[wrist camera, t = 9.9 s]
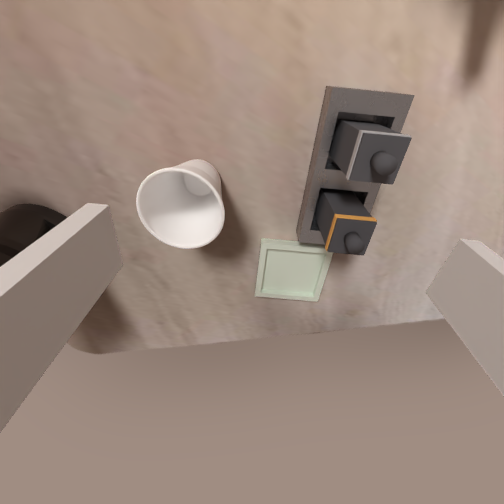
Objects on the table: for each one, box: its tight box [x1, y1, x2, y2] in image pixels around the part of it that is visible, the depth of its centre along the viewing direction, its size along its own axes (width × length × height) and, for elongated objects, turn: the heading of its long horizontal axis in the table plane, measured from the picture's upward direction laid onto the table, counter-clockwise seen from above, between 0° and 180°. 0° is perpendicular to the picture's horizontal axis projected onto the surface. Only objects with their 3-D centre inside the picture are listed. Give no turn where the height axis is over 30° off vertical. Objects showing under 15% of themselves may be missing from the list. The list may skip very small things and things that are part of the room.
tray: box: [255, 238, 333, 302], centre depth 46 cm, size 12×12×2 cm
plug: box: [315, 188, 377, 255], centre depth 34 cm, size 5×5×12 cm
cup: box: [136, 159, 225, 249], centre depth 33 cm, size 10×10×11 cm
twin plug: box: [329, 119, 412, 184], centre depth 29 cm, size 5×5×12 cm
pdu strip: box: [296, 86, 414, 244], centre depth 35 cm, size 9×20×4 cm, turn 175°
